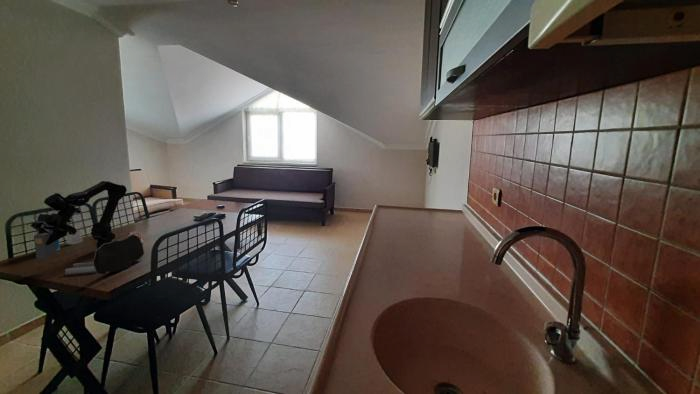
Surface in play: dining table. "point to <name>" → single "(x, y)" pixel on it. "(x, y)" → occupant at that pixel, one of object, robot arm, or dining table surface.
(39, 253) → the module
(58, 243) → the beverage bottle
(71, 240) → the white angled block
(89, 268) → the din rail
